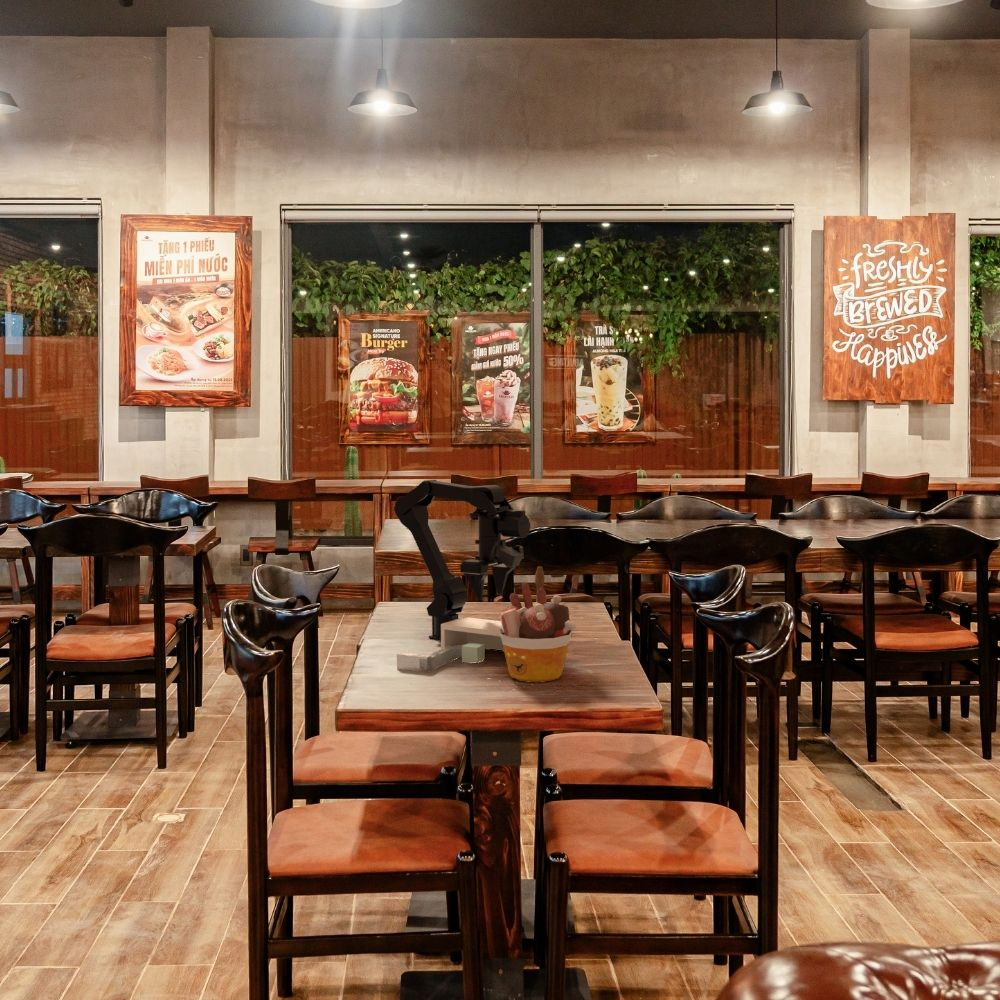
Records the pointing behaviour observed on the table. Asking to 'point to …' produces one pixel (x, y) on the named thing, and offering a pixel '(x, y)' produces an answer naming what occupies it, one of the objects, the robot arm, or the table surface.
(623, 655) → the table surface
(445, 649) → the pale grey angled bracket
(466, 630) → the low cubby
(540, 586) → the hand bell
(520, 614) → the bucket of meat
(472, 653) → the mint cube
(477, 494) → the robot arm
